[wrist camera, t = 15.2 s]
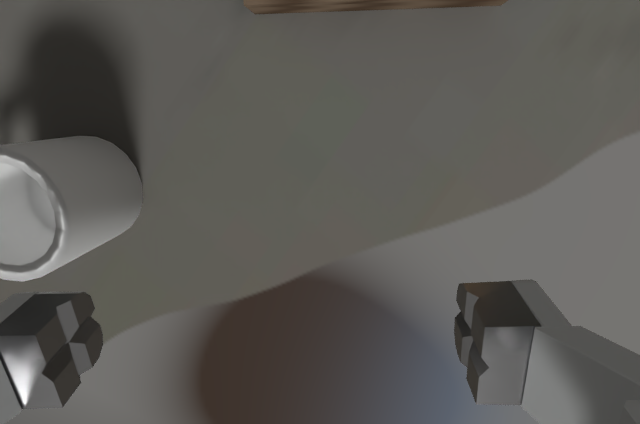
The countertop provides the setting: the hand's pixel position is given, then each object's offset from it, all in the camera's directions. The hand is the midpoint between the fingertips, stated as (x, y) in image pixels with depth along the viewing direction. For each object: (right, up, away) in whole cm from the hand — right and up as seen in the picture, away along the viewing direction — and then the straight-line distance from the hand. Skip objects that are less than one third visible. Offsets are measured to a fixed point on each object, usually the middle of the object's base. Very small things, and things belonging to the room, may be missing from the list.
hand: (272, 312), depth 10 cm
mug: (-22, +5, +33) cm, 40 cm away
